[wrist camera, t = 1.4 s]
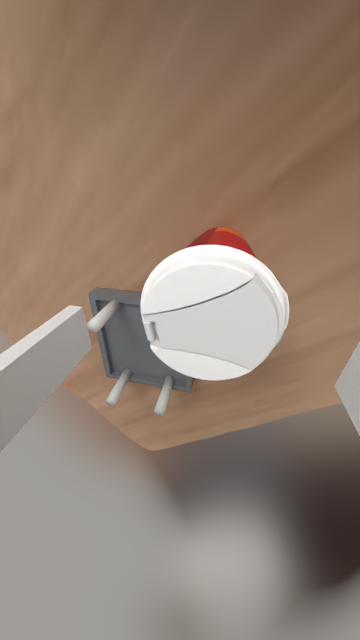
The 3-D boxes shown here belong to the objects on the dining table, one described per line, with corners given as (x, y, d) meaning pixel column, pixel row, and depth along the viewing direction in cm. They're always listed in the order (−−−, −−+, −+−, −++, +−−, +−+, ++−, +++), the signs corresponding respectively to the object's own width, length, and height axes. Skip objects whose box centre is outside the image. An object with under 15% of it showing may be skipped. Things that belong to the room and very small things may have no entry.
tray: (96, 287, 29) (61, 313, 23) (199, 298, 27) (189, 330, 21) (112, 368, 37) (89, 403, 31) (192, 382, 35) (184, 422, 29)
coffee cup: (188, 292, 27) (149, 383, 14) (178, 220, 23) (112, 261, 10) (259, 287, 25) (287, 391, 12) (262, 208, 21) (307, 240, 8)
